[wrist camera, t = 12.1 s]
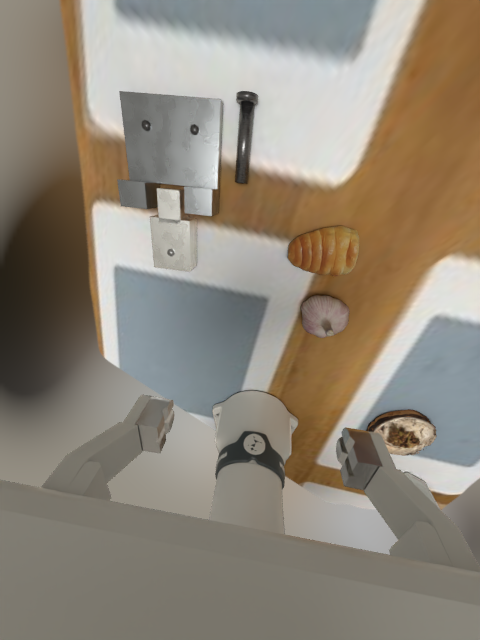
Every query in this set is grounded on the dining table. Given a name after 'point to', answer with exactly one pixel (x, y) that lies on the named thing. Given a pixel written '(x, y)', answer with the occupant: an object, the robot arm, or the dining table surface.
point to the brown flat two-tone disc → (404, 431)
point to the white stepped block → (173, 232)
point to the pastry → (325, 251)
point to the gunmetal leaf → (172, 149)
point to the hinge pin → (244, 133)
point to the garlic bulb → (324, 315)
